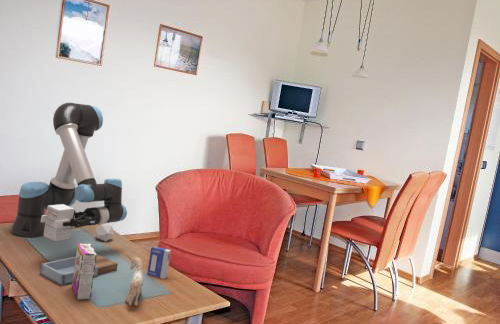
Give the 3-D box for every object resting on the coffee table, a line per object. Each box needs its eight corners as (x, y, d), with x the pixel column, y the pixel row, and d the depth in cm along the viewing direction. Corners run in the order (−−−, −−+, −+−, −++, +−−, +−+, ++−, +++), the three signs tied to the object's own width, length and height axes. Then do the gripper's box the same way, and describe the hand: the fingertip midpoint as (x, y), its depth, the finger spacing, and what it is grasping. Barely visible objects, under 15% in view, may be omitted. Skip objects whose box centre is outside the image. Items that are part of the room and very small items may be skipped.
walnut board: (77, 265, 183) (78, 258, 182) (96, 261, 191) (97, 254, 191) (97, 275, 177) (98, 268, 176) (116, 270, 185) (117, 263, 185)
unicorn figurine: (138, 287, 173) (143, 253, 172) (148, 310, 156) (154, 273, 154) (119, 286, 170) (124, 252, 169) (126, 310, 153) (132, 272, 151)
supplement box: (58, 233, 185) (63, 203, 184) (70, 238, 181) (75, 208, 180) (42, 236, 179) (47, 205, 177) (54, 241, 175) (59, 210, 174)
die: (116, 242, 223) (114, 223, 227) (111, 237, 215) (109, 218, 219) (99, 245, 222) (98, 227, 226) (94, 241, 214) (92, 222, 218)
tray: (39, 274, 169) (40, 263, 168) (75, 265, 183) (76, 256, 182) (61, 285, 162) (63, 275, 162) (97, 276, 176) (98, 266, 176)
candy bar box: (70, 286, 163) (77, 243, 161) (85, 286, 165) (91, 243, 164) (75, 300, 153) (82, 253, 152) (90, 299, 156) (97, 253, 154)
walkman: (146, 274, 187) (151, 246, 186) (149, 272, 190) (154, 245, 188) (164, 279, 185) (169, 251, 184) (167, 277, 188) (171, 249, 187)
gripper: (110, 231, 190) (63, 238, 170) (78, 218, 200) (31, 223, 180) (113, 213, 189) (66, 219, 170) (81, 201, 199) (33, 205, 180)
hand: (48, 221), depth 175 cm, fingers closed on supplement box, 7 cm apart
